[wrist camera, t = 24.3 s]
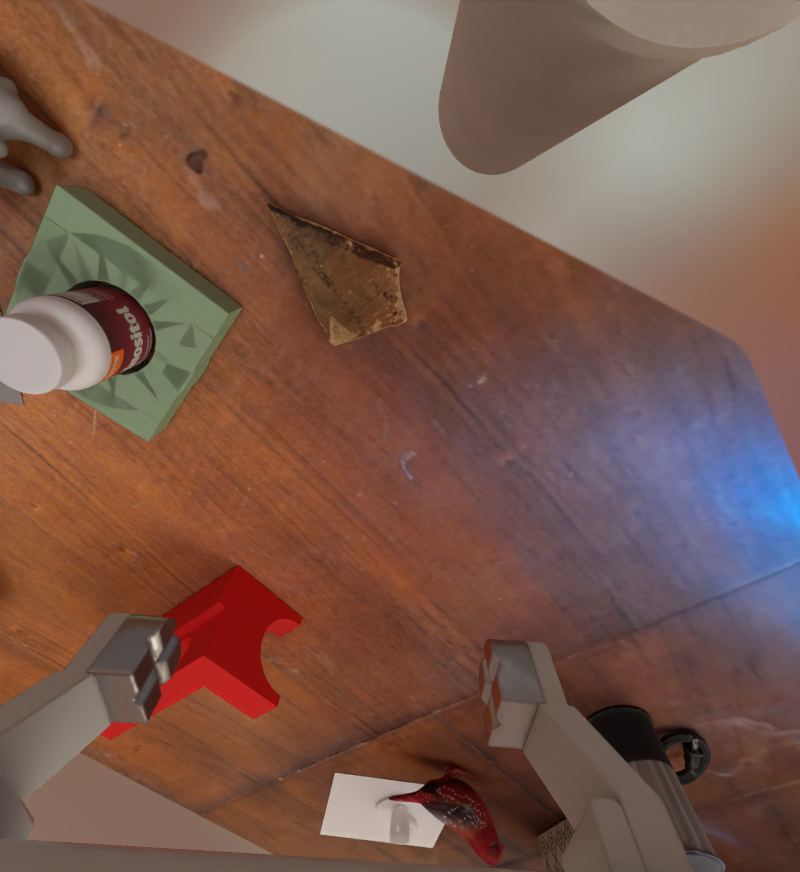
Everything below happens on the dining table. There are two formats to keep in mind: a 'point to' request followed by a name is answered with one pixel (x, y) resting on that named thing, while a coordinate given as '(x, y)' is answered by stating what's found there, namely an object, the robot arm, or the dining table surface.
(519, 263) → the dining table surface
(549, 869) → the lamp
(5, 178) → the gray elephant figurine
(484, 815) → the decorative bird figurine
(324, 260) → the shard
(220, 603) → the bracket
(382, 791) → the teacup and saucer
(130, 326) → the pill bottle
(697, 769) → the milk frother
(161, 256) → the socket pad
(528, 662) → the robot arm
